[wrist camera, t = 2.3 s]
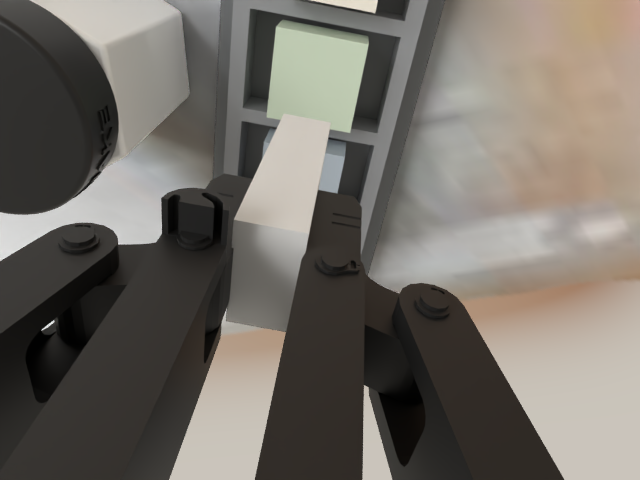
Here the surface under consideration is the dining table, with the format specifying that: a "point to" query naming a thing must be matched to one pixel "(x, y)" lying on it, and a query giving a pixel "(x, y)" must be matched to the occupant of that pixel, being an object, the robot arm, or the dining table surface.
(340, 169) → the key slate
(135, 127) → the jar
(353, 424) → the robot arm
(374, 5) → the key cream
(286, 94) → the key sage
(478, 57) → the dining table surface
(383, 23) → the grey compartment tray
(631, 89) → the dining table surface
